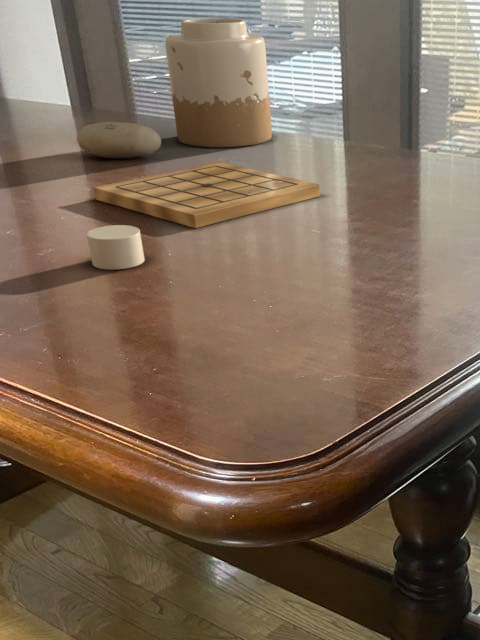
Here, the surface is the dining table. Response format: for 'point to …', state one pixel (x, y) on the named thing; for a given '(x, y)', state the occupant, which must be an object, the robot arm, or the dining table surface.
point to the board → (206, 193)
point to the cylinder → (115, 247)
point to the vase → (219, 84)
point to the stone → (118, 140)
